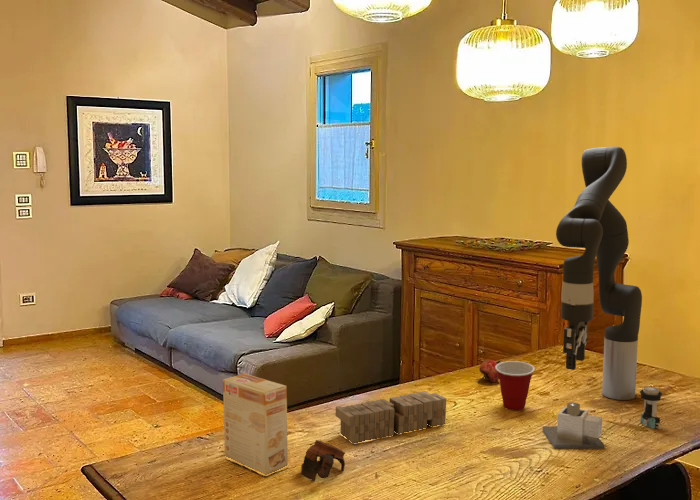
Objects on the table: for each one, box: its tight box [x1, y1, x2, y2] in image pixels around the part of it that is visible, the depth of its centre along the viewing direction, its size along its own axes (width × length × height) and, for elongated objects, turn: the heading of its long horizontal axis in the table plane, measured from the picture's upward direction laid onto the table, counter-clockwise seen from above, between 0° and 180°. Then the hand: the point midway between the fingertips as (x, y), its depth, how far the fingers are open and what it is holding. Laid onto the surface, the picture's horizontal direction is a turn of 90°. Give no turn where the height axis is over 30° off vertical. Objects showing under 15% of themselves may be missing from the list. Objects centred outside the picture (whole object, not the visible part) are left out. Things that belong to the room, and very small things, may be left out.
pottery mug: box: [300, 439, 346, 481], centre depth 160 cm, size 12×10×8 cm
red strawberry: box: [477, 359, 501, 383], centre depth 227 cm, size 7×7×10 cm
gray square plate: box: [542, 401, 605, 450], centre depth 179 cm, size 12×12×9 cm
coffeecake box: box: [222, 373, 289, 475], centre depth 165 cm, size 15×7×20 cm, turn 47°
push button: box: [639, 386, 663, 430], centre depth 188 cm, size 7×5×10 cm
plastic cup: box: [495, 360, 536, 412], centre depth 202 cm, size 11×11×12 cm
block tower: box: [335, 391, 447, 444], centre depth 186 cm, size 8×8×29 cm
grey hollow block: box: [557, 405, 603, 441], centre depth 179 cm, size 10×6×6 cm, turn 59°
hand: (575, 364), depth 178 cm, fingers open, 8 cm apart
